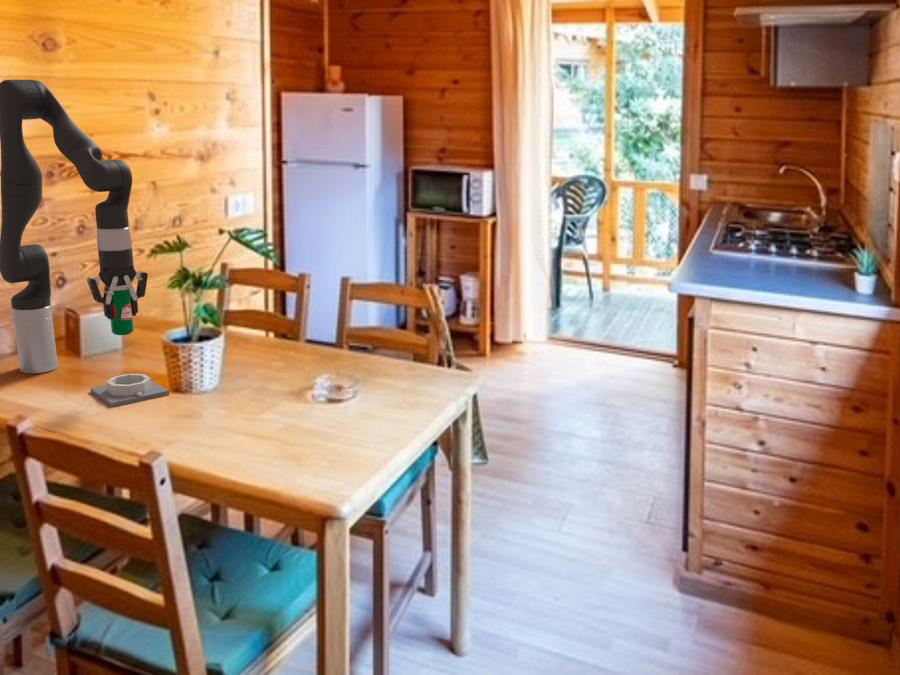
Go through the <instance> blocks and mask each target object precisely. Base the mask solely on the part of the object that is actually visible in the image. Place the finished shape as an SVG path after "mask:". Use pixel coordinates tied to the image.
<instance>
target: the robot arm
mask: <svg viewBox="0 0 900 675" xmlns="http://www.w3.org/2000/svg"><path fill="white" fill-rule="evenodd" d="M67 112H68V111H66V109H65V108H64V107H63V106H62V104H61V102H60V101H59V100H58V99H57V98H56V96H55V94H53V92H52V91H51V90H50V89H49V88H48V87H47V86H46V84H45V83H43V82H42V81H39V80H36V79H4V80H2V81H1V82H0V200H1V222H0V224H1V226H0V275H1V278H2V279H3V280H4V281H5V282H6V283H9V284H16V283H17V284H18V283H24V282H26V283H27V282H28V284H27V285H26V286H25V287H24V288H23V289H22V290H20V291H19V292H17V293H16V294H14V295H12V297H11V299H10V305H11V311H12V318H13V326H14V334H15V341H16V348H17V349H16V350H17V355H18V356H17V358H18V366H19V372H20V373H23V374H32V375H33V374H43V373H47V372H51V371H54V370H57V369H58V367H59V366H58V365H59V364H58V356H57V348H56V346H57V345H56V339H55V338H56V337H55V330H54V322H53V313H52V305H51V304H52V303H51V297H52V288H51V272H50V269H51V268H50V261H49V257H48V254H47V251H46V250H45V248H44V246H42V245H40V244H36V243H35V244H23V245H22V244H21V243H22V238H23V235H24V231H25V230H26V227H27V225H28V224H29V222H30V220H32V218H33V216H34V215H35V214H36V212H37V210H38V208H39V207H40V205H41V202H42V199H43V172H42V170H41V168H40V166H39V165H38V163H37V161H36V159H35V158H34V156H33V154H32V152H31V151H30V150H29V149H28V147H27V145H26V142H25V139H24V133H23V120H25V121H26V120H39V119H40V120H42V121H44V122H45V123H47V124H48V125H50V126H51V127H52V136H53V141H54V145H55V146H56V148H57V149H58V151H59V152H60V154H62V155H63V156H64V157H65V158H66V159H67V160H68V161H69V162H70V163H72V164H73V165H74V167H75V168H76V171H77V173H78V174H79V176H80V178H81V180H82V182H83V184H84V185H85V187H87V188H89V190H91V191H94V192H97V193H105V192H106V193H107V192H108V195H107V198H106V199H105V200H104V201H101V202H98V203H97V204H95V209H94V212H95V223H96V244H97V254H98V264H99V272H98V275H96V276H94V277H87V279H86V281H87V284H88V286H89V289H90V293H91V295H92V297H93V300H94V301H95V302H96V303H98V304H103V314H104V316H105V317H106V318H107V319H108V320H110V321H111V319H113V311H112V304H110V303H111V299H112V295H113V291H114V289H115V286H116V285H125V284H126V285H127V287H128V288H129V289H130V293H131V303H132V313H133V317H135V316H137V314H138V313H139V307H138V306H139V304H138V300H139V299H140V298H144V297H146V296H145V295H146V289H147V284H148V277H149V276H148V273H147V272H145V271H142V270H141V271H136V269H135V268H134V266H135V265H134V256H133V254H134V253H133V241H132V235H131V231H130V223H129V215H128V214H129V212H128V207H129V203H130V197H131V192H132V186H133V174H132V171H131V168H130V166H129V165H128V164H127V163H126V162H125V161H124V160H123V159H107V160H105V159H104V160H102V158H103V152H102V150H101V148H100V146H99V145H98V144H97V143H96V142H95V141H94V140H93V139H92V138H90V137H89V136H88V135H87V134H86V133H85V132H84V131H83V130H82V129H81V128H79V127H78V125H77V124H76V123H75V122H74V120H72V118H71V117H70V115H69V114H68V113H67ZM135 278H136V281H137V284H136V290H135V288H134V285H133V284H132V282H133V280H134V279H135ZM100 281H101V282H102V283H103V284H104V288H103V294H102V295H103V296H102V295H101V291H100V289H99V286H100ZM108 288H109V290H108Z"/></svg>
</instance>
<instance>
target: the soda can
mask: <svg viewBox="0 0 900 675" xmlns="http://www.w3.org/2000/svg"><path fill="white" fill-rule="evenodd" d="M108 290H109V288H108ZM110 304H112V311H113V319H111V320H110V326H111V328H110V329H111V333H112V334H113V335H116V336H127V335H131V334H132V333H134V331H135V328H134V316H133V313H132V303H131V293H130V289H129V288H128V287H127V285H126V284H125V285H116V286H115V289H114V291H113V295H112V299H111V303H110Z"/></svg>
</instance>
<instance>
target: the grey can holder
mask: <svg viewBox="0 0 900 675" xmlns="http://www.w3.org/2000/svg"><path fill="white" fill-rule="evenodd" d="M90 393H92V394H93V395H95V396H96V397H97V398H99V399H100V400H102V401H103V402H104V403H106V404H107V405H108V406H110V407H111V408H113V407H117V406H122V405H128V404H132V403H137V402H141V401H146V400H149V399H155V398H159V397H164V396H168V395H170V392H169V390H168V389H166V388H165V387H163V386H161V385H160V384H158V383H156V382H155V381H153V380H151V377H150V376H148V375H147V374H145V373H126V374H120V375H116V376H113V377H111V378H109V379H108V380H107V381H106V384H105V385H101V386H100V385H99V386H95V387H90Z"/></svg>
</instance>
